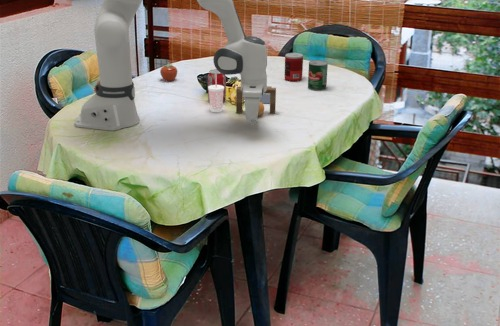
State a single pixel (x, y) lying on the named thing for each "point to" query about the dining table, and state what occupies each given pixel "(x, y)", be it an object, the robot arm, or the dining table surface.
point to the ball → (261, 109)
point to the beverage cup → (216, 96)
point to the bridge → (269, 90)
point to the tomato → (168, 72)
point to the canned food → (293, 67)
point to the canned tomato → (317, 75)
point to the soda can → (220, 80)
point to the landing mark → (265, 99)
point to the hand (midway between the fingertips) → (253, 123)
